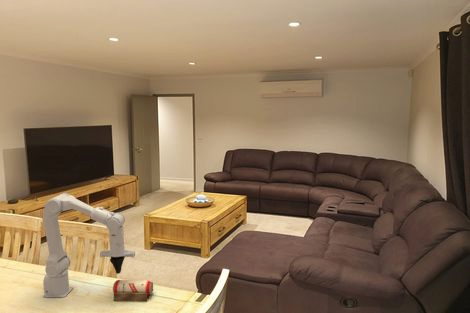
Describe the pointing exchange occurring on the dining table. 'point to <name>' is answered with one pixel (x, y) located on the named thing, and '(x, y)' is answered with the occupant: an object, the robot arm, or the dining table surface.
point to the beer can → (133, 286)
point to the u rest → (131, 297)
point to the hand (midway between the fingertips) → (118, 272)
